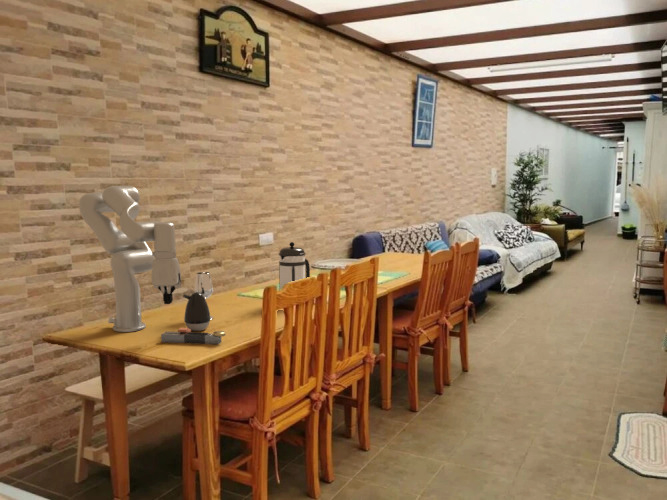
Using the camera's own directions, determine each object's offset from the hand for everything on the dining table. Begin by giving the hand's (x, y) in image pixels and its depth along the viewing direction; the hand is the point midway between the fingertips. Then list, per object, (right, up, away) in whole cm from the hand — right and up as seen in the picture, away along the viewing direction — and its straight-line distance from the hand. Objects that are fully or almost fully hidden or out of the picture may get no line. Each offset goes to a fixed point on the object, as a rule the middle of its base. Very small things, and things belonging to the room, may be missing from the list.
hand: (168, 303), depth 216 cm
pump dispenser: (+8, -12, +14) cm, 20 cm away
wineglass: (+7, -10, +31) cm, 34 cm away
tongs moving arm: (+10, -14, -5) cm, 18 cm away
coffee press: (+43, -6, +60) cm, 74 cm away
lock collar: (+6, -13, +1) cm, 15 cm away
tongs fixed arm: (+11, -14, -4) cm, 18 cm away
